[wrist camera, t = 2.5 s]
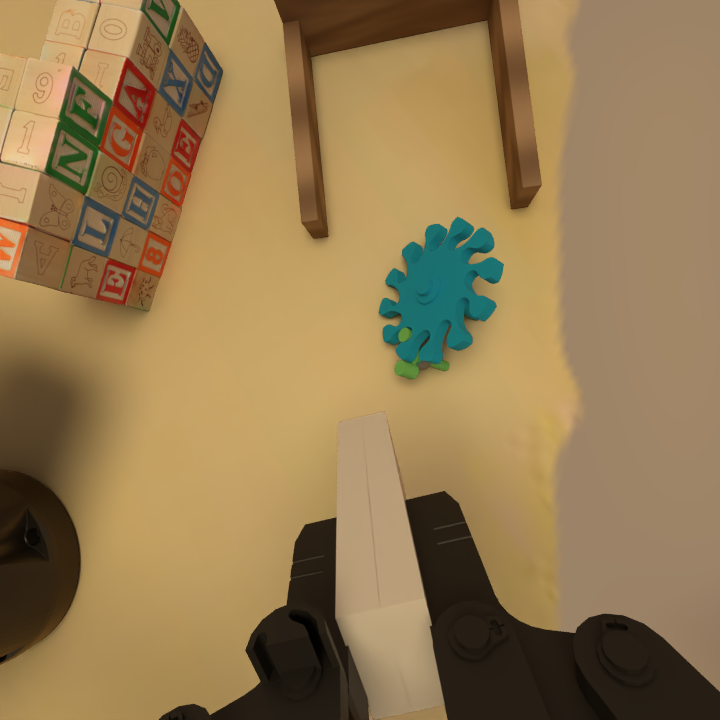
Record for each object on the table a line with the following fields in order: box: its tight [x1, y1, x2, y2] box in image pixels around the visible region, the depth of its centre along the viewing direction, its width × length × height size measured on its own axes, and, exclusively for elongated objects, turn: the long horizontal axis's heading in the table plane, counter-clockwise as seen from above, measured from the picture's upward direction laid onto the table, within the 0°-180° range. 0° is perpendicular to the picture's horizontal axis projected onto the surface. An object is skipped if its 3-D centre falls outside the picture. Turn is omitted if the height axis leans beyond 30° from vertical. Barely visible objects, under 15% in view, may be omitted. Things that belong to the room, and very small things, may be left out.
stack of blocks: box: [0, 0, 223, 311], centre depth 29 cm, size 21×6×12 cm, turn 163°
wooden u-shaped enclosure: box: [274, 0, 542, 239], centre depth 30 cm, size 16×16×6 cm
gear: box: [379, 217, 504, 379], centre depth 29 cm, size 11×6×10 cm
